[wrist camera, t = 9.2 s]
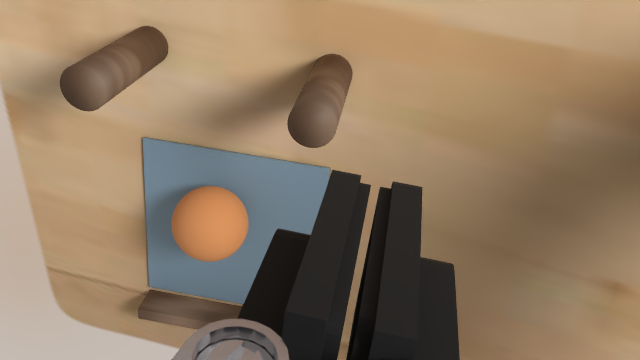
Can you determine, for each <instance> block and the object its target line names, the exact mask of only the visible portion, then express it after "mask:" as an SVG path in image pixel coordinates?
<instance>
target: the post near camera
mask: <svg viewBox="0 0 640 360" xmlns="http://www.w3.org/2000/svg"><path fill="white" fill-rule="evenodd" d="M167 54H168V43H167V40H166V38H165V37H164V35H163V34H162V33H161V32H160V31H159V30H157V29H156V28H154V27H150V26H143V27H140V28H138V29H136V30H134V31H133V32H131V33H129V34H127V35H125V36H124V37H122V38H120V39H118V40H116V41H115V42H113V43H111V44H109V45H108V46H106V47H104V48H102V49H100V50H99V51H97V52H95V53H93V54H91V55H90V56H88V57H86V58H84V59H82V60H81V61H79V62H77V63H75V64H74V65H72V66H70V67H68V68H67V69H65V70H64V71H63V73H62V75H61V78H60V87H61V91H62V93H63V95H64V97H65V98H66V100H67V101H68V102H69V103H70V104H71V105H73V106H74V107H76V108H78V109H80V110H83V111H94V110H97V109H99V108H100V107H101V106H103V105H104V104H105V103H107V102H108V101H109V100H111V99H112V98H113V97H115V96H116V95H117V94H119V93H120V92H121V91H123V90H124V89H126V88H127V87H128V86H130V85H131V84H132V83H134V82H135V81H136V80H138V79H139V78H140V77H142V76H143V75H144V74H146V73H147V72H148V71H150V70H151V69H152V68H154V67H155V66H156V65H158V64H159V63H161V62H162V61H163V60H164V59H165V58H166V56H167Z"/></svg>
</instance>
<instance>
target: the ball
mask: <svg viewBox="0 0 640 360" xmlns="http://www.w3.org/2000/svg"><path fill="white" fill-rule="evenodd" d="M247 232H248V215H247V211H246V209H245V206H244V205H243V203H242V201H241V200H240V199H239V198H238V197H237V196H236V195H235V194H234V193H232V192H231V191H229V190H227V189H225V188H222V187H218V186H204V187H199V188H196V189H194V190H192V191H190V192H189V193H187V194H186V195H185V196H184V197H183V198H182V199H181V200H180V201H179V203H178V204H177V206H176V208H175V210H174V213H173V216H172V233H173V236H174V239H175V241H176V243H177V244H178V246H179V247H180V249H181V250H182V251H183V252H185V253H186V254H187V255H188V256H190V257H192V258H194V259H197V260H200V261H206V262H213V261H219V260H222V259H225V258H227V257H229V256H231V255H232V254H234V253H235V252H236V251H237V250H238V249H239V248H240V246H241V245H242V244H243V242H244V240H245V238H246V235H247Z"/></svg>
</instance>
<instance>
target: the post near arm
mask: <svg viewBox="0 0 640 360" xmlns="http://www.w3.org/2000/svg"><path fill="white" fill-rule="evenodd" d="M351 79H352V68H351V66H350V64H349V62H348V61H347V60H346V59H345V58H343V57H342V56H340V55H336V54H328V55H325V56H323V57H321V58H320V59H319V60H318V61H317V62H316V64H315V66H314V68H313V70H312V72H311V74H310V76H309V77H308V79H307V81H306V83H305V85H304V87H303V89H302V91H301V93H300V95H299V97H298V99H297V101H296V103H295V105H294V107H293V109H292V111H291V112H290V115H289V117H288V130H289V132H290V134H291V136H292V137H293V139H294V140H295V141H296V142H298V143H299V144H301V145H303V146H305V147H309V148H318V147H322V146H324V145H326V144H328V143H329V142H330V141H331V140H332V139H333V137H334V135H335V133H336V129H337V126H338V123H339V119H340V116H341V113H342V109H343V106H344V103H345V99H346V96H347V93H348V89H349V86H350V83H351Z"/></svg>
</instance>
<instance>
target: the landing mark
mask: <svg viewBox="0 0 640 360" xmlns="http://www.w3.org/2000/svg"><path fill="white" fill-rule="evenodd" d="M143 157H144V180H145V203H146V226H147V249H148V272H149V287H153V288H158V289H164V290H169V291H175V292H180V293H186V294H191V295H196V296H202V297H207V298H213V299H218V300H224V301H229V302H234V303H240V304H244V302H245V300H246V297H247V295H248V293H249V290H250V288H251V286H252V284H253V281H254V279H255V277H256V274H257V272H258V270H259V268H260V265H261V263H262V261H263V258H264V256H265V254H266V252H267V249H268V247H269V245H270V242H271V240H272V238H273V236H274V233H275V232H276V230H277V229H278V228H279V229H284V230H289V231H294V232H299V233H304V234H309V235H311V232H312V229H313V226H314V223H315V220H316V217H317V214H318V211H319V208H320V206H321V203H322V200H323V197H324V194H325V191H326V188H327V185H328V182H329V176H330V169H331V168H327V167H321V166H315V165H309V164H303V163H297V162H291V161H285V160H279V159H273V158H267V157H261V156H255V155H249V154H242V153H236V152H230V151H224V150H218V149H212V148H206V147H200V146H194V145H188V144H182V143H176V142H170V141H164V140H158V139H152V138H146V137H143ZM204 186H218V187H222V188H225V189H227V190H229V191H231V192H232V193H234V194H235V195H236V196H237V197H238V198H239V199H240V200H241V201H242V203H243V205H244V206H245V209H246V211H247V215H248V232H247V235H246V238H245V240H244V242H243V244H242V245H241V246H240V248H239V249H238V250H237V251H236V252H235V253H234V254H232V255H231V256H229V257H227V258H225V259H222V260H219V261H213V262H206V261H200V260H197V259H194V258H192V257H190V256H188V255H187V254H186V253H185V252H183V251H182V250H181V249H180V247H179V246H178V244H177V243H176V241H175V239H174V236H173V233H172V216H173V213H174V210H175V208H176V206H177V204H178V203H179V201H180V200H181V199H182V198H183V197H184V196H185V195H186V194H187V193H189V192H190V191H192V190H194V189H196V188H199V187H204Z"/></svg>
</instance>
